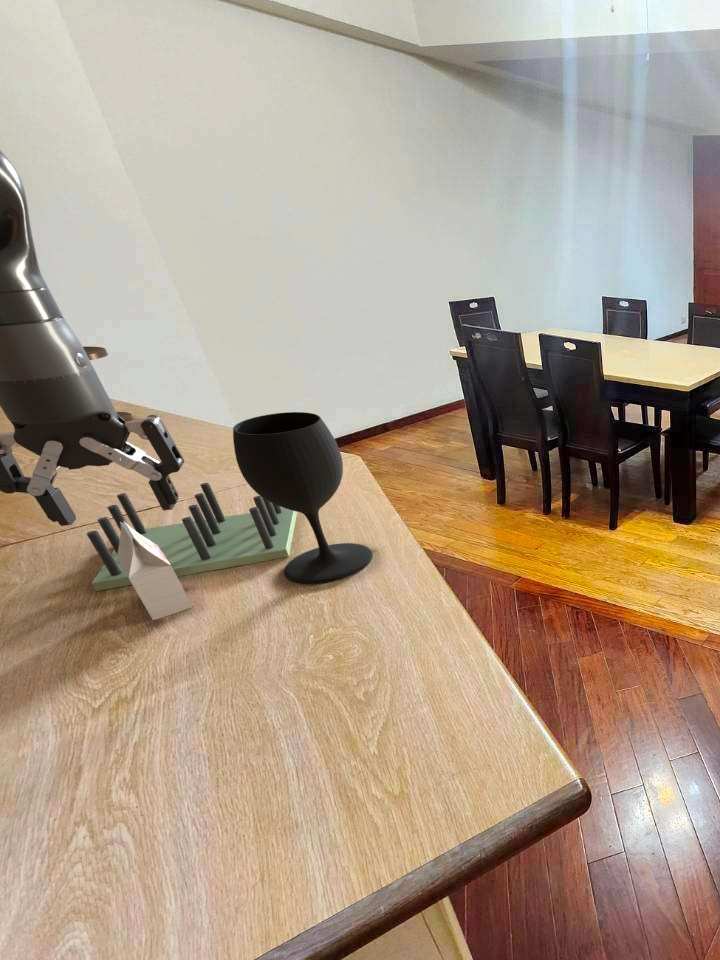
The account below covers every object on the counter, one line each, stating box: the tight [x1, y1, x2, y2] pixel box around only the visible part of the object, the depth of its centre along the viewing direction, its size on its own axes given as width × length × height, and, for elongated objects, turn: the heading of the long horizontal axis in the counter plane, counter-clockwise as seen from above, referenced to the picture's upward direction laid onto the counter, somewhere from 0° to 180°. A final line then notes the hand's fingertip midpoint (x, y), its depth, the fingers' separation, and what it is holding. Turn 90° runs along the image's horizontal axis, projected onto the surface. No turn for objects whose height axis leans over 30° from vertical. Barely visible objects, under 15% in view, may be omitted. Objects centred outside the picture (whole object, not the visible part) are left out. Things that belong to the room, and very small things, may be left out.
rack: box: [86, 482, 298, 592], centre depth 81 cm, size 20×15×7 cm
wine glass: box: [232, 411, 374, 585], centre depth 76 cm, size 10×10×20 cm
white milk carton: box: [117, 521, 194, 621], centre depth 69 cm, size 4×7×10 cm, turn 50°
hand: (120, 515), depth 66 cm, fingers open, 8 cm apart
